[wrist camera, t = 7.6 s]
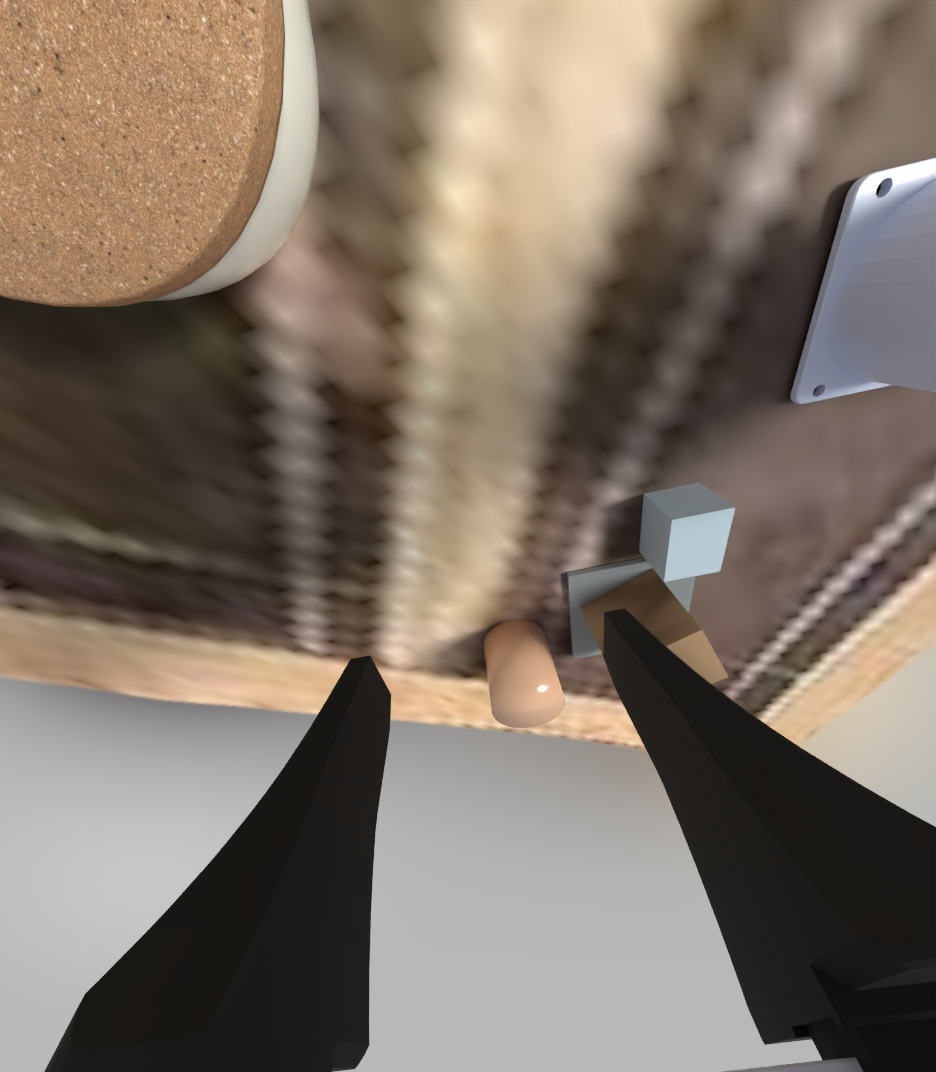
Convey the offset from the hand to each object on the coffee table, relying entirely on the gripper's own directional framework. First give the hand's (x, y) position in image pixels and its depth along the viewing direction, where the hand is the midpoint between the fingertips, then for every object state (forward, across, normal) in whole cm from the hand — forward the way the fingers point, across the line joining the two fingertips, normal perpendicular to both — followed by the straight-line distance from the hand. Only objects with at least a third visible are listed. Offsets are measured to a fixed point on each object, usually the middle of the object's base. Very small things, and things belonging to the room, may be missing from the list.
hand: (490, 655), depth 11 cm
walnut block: (+10, -9, +10) cm, 16 cm away
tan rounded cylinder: (+10, -1, +12) cm, 15 cm away
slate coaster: (+10, -9, +10) cm, 17 cm away
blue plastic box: (+10, -11, +4) cm, 15 cm away
